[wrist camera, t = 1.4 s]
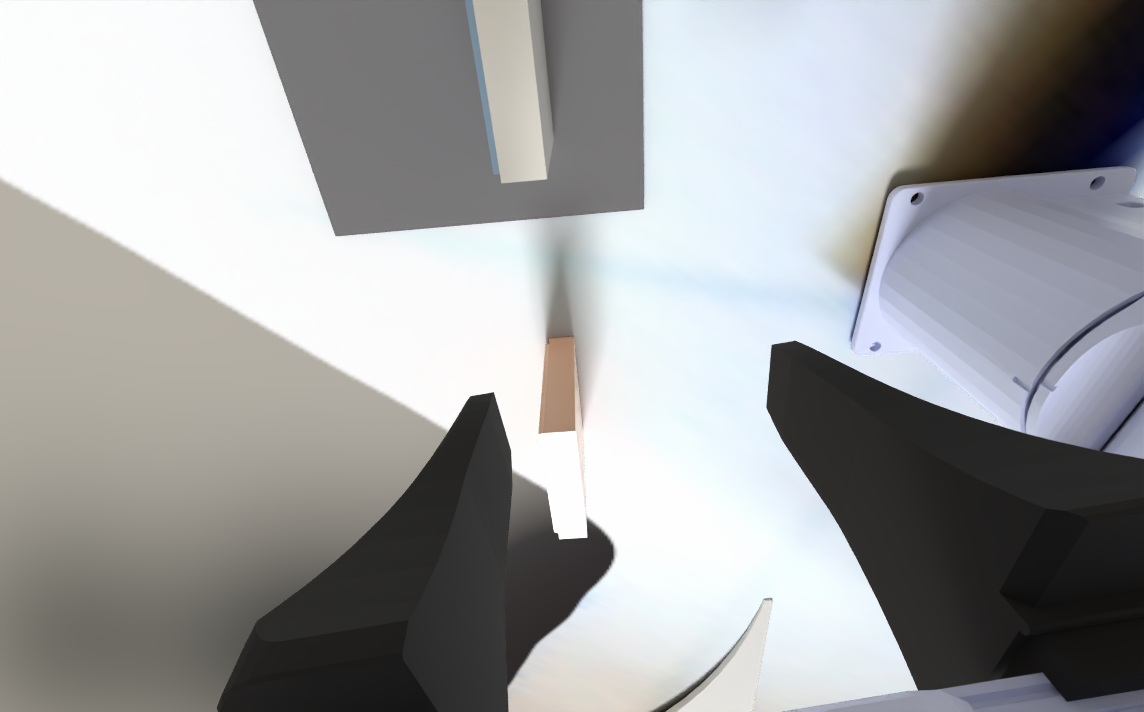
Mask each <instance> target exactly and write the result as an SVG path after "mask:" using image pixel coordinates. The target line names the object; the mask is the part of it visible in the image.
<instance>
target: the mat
mask: <svg viewBox="0 0 1144 712" xmlns="http://www.w3.org/2000/svg"><path fill="white" fill-rule="evenodd" d="M253 2H254V5H255V8H256V11H257V14H258V16H259V19H260V22H261V25H262V28H263V31H264V33H265V36H266V39H267V42H268V45H269V48H270V51H271V53H272V56H273V59H274V62H275V65H276V68H277V70H278V73H279V76H280V79H281V82H282V85H283V88H284V90H285V93H286V96H287V99H288V102H289V105H290V108H291V110H292V113H293V116H294V119H295V122H296V125H297V127H298V130H299V133H300V136H301V139H302V142H303V145H304V147H305V150H306V153H307V156H308V159H309V162H310V164H311V167H312V170H313V173H314V176H315V179H316V182H317V184H318V187H319V190H320V193H321V196H322V199H323V202H324V204H325V207H326V210H327V213H328V216H329V219H330V221H331V224H332V227H333V230H334V233H335V236H346V235H357V234H368V233H380V232H391V231H402V230H414V229H425V228H436V227H448V226H459V225H470V224H482V223H493V222H504V221H516V220H527V219H538V218H550V217H561V216H572V215H584V214H595V213H606V212H618V211H629V210H640V209H644V164H643V49H642V0H541V10H542V21H543V31H544V41H545V51H546V61H547V72H548V82H549V92H550V102H551V112H552V123H553V133H554V141H553V147H552V153H551V159H550V165H549V170H548V176H547V179H545V180H534V181H523V182H512V183H501V178H500V174H493V168H492V162H491V156H490V150H489V144H488V138H487V132H486V126H485V120H484V114H483V108H482V101H481V95H480V89H479V83H478V77H477V71H476V65H475V59H474V53H473V47H472V41H471V35H470V29H469V22H468V16H467V10H466V4H465V0H253Z"/></svg>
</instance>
